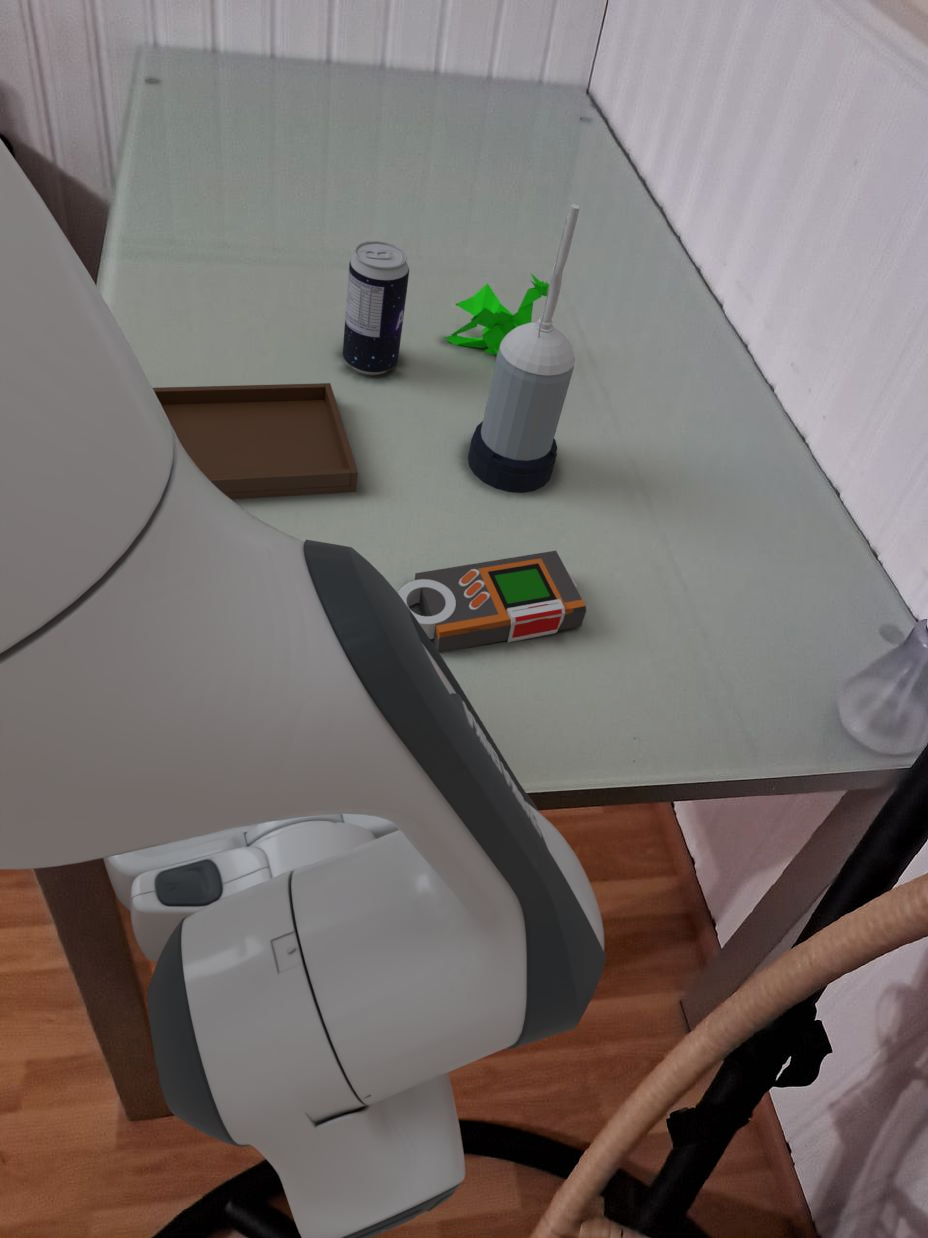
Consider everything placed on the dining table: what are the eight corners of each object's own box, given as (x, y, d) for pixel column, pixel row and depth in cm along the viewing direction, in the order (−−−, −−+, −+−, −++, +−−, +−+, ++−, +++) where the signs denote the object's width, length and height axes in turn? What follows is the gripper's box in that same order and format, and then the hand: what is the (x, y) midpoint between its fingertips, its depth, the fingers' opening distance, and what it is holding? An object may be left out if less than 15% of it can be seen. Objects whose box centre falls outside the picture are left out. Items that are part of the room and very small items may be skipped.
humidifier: (562, 456, 93) (637, 204, 74) (536, 504, 87) (609, 244, 69) (485, 427, 94) (540, 172, 75) (454, 473, 88) (506, 209, 70)
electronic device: (386, 574, 75) (560, 546, 79) (384, 599, 77) (554, 571, 81) (410, 639, 71) (592, 606, 75) (407, 663, 73) (585, 630, 77)
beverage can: (399, 381, 97) (413, 271, 88) (343, 378, 96) (352, 266, 87) (394, 349, 100) (407, 241, 92) (340, 346, 99) (348, 236, 90)
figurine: (554, 372, 101) (558, 291, 95) (442, 370, 102) (438, 290, 95) (554, 340, 105) (558, 261, 99) (446, 339, 106) (443, 260, 100)
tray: (152, 504, 79) (150, 483, 78) (143, 408, 87) (140, 387, 86) (356, 492, 84) (358, 472, 83) (329, 402, 92) (330, 382, 91)
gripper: (496, 820, 52) (419, 632, 60) (99, 915, 45) (73, 688, 53) (476, 874, 57) (407, 692, 65) (113, 968, 50) (87, 751, 58)
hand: (253, 691), depth 59 cm, fingers open, 8 cm apart
